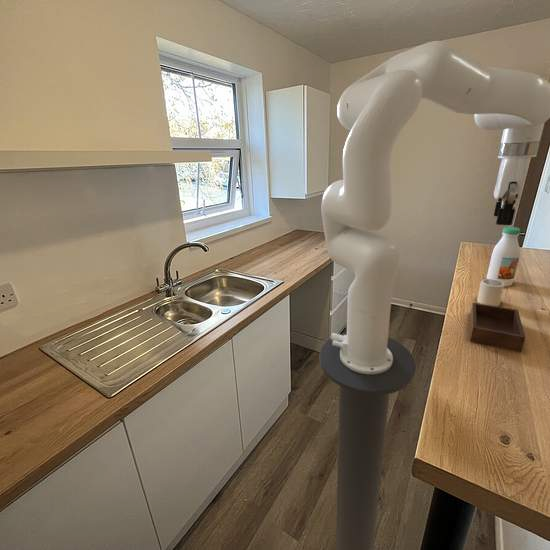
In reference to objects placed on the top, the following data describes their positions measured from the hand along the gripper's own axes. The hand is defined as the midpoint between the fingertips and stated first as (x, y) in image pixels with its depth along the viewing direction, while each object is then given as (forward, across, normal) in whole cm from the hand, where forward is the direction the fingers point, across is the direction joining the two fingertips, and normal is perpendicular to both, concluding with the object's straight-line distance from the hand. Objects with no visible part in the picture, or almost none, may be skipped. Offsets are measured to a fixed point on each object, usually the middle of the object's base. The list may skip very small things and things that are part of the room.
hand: (501, 220), depth 80 cm
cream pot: (+28, -8, +2) cm, 29 cm away
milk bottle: (+28, -26, +6) cm, 39 cm away
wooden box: (+28, +10, +2) cm, 30 cm away
